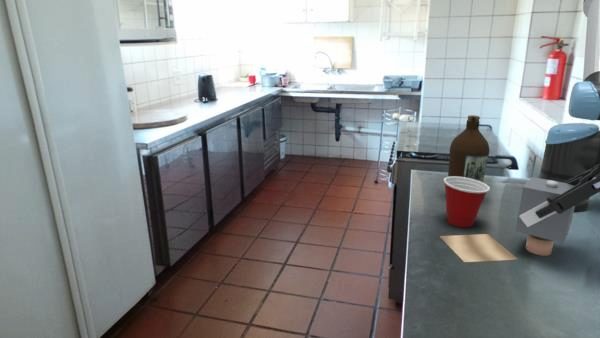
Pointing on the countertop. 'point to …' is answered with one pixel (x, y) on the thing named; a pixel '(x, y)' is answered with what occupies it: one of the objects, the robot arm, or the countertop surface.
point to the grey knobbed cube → (537, 194)
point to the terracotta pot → (539, 245)
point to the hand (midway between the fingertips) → (528, 214)
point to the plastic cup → (463, 199)
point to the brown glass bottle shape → (469, 152)
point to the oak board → (477, 248)
